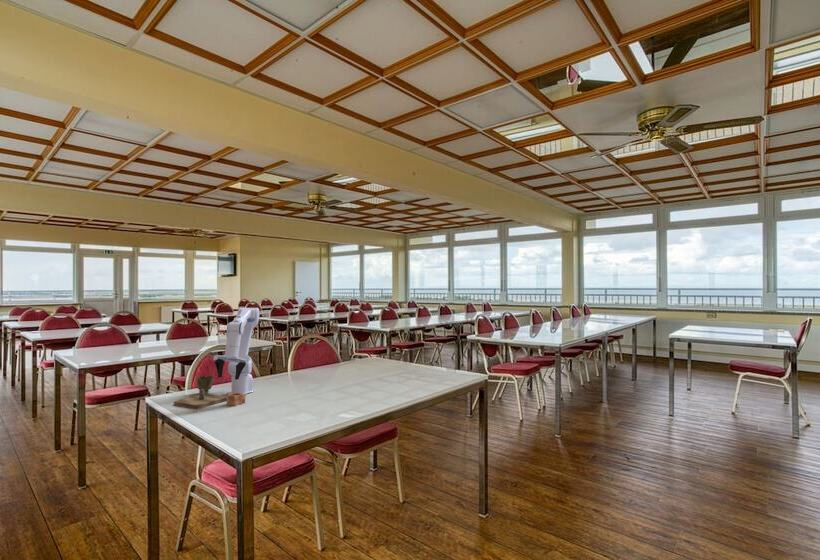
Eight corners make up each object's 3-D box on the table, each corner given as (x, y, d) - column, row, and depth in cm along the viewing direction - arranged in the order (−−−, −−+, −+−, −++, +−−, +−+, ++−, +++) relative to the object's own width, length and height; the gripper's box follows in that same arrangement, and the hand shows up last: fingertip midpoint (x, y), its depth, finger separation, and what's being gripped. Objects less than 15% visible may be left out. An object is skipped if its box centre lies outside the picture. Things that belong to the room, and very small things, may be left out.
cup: (194, 395, 198) (194, 378, 198) (197, 392, 205) (198, 375, 205) (211, 395, 200) (212, 378, 200) (214, 391, 207) (214, 374, 207)
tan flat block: (205, 396, 197) (205, 383, 197) (227, 400, 192) (228, 387, 192) (173, 404, 182) (174, 390, 183) (197, 409, 177) (197, 394, 177)
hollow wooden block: (235, 401, 191) (236, 392, 191) (245, 402, 188) (245, 393, 188) (226, 404, 186) (226, 394, 186) (235, 405, 183) (236, 396, 184)
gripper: (220, 343, 183) (215, 375, 178) (252, 348, 193) (248, 378, 188) (213, 346, 188) (208, 377, 182) (244, 351, 197) (241, 381, 192)
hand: (228, 378), depth 185 cm, fingers open, 7 cm apart
